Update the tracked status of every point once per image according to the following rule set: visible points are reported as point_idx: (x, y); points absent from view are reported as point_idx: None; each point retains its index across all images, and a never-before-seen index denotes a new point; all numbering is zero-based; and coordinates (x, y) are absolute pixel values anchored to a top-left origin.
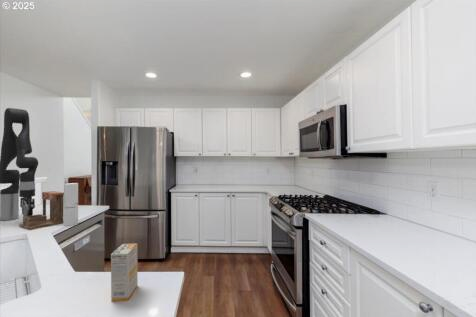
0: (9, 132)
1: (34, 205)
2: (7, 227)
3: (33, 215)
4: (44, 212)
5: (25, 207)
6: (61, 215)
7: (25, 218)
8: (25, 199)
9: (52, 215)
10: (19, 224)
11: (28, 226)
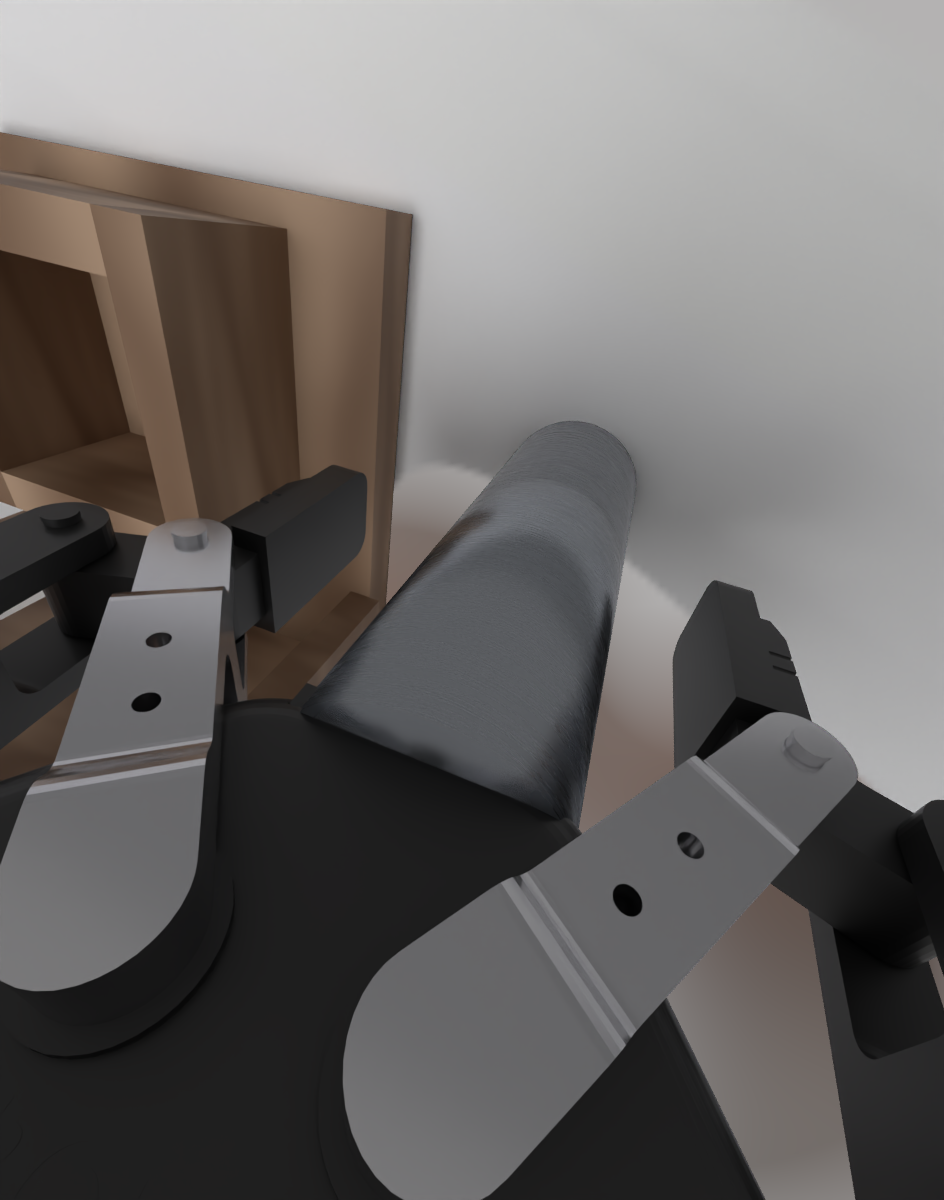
0: None
1: (12, 660)
2: (648, 27)
3: (170, 456)
4: (273, 682)
5: (380, 621)
6: (24, 615)
7: (20, 186)
8: (119, 1120)
9: (255, 677)
10: (370, 207)
11: (47, 173)
